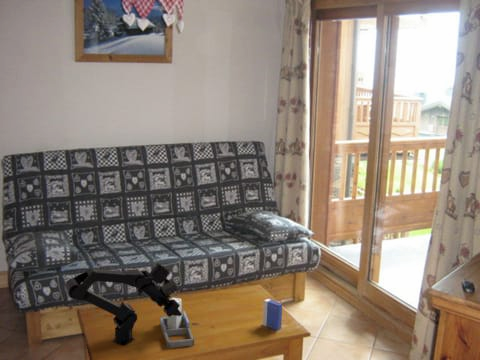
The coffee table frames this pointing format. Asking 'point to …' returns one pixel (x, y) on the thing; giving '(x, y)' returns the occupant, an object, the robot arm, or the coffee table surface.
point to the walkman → (272, 314)
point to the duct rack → (177, 333)
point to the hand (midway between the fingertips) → (177, 311)
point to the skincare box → (174, 317)
